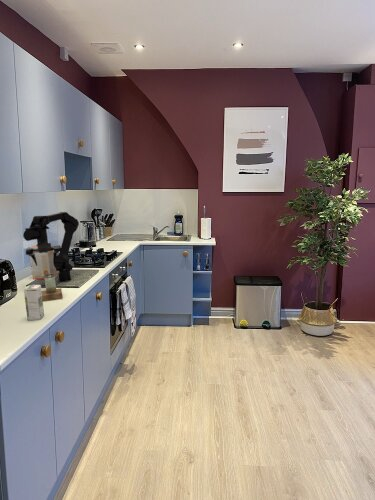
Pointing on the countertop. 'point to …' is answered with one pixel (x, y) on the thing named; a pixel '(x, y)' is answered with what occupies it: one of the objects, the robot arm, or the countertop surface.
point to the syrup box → (34, 302)
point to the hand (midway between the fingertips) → (45, 264)
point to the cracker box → (42, 264)
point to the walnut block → (52, 295)
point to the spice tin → (50, 283)
